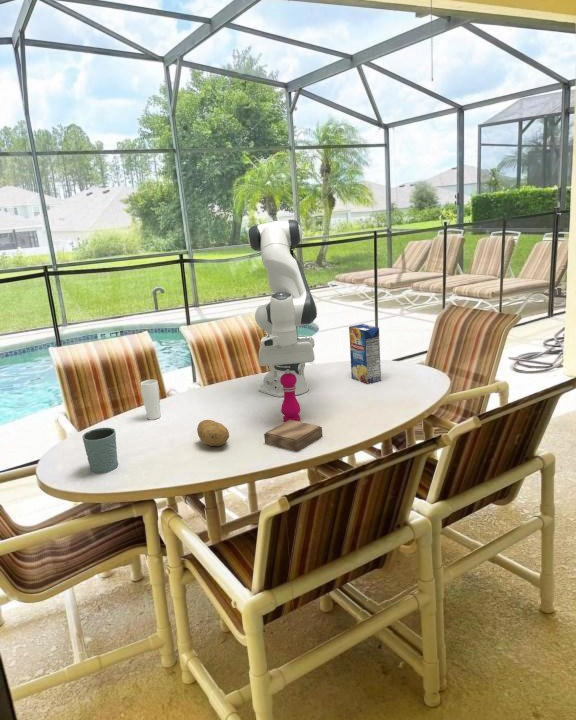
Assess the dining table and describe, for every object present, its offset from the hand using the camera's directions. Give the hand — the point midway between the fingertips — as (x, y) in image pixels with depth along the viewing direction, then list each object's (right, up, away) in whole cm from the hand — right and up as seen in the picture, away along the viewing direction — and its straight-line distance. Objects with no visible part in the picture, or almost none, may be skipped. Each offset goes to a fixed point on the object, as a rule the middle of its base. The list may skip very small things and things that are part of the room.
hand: (288, 375), depth 203 cm
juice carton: (+35, -3, +46) cm, 58 cm away
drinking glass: (-53, -18, +20) cm, 60 cm away
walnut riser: (+2, -22, -13) cm, 25 cm away
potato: (-25, -24, -11) cm, 36 cm away
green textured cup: (-59, -29, -22) cm, 70 cm away
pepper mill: (+1, -17, +5) cm, 18 cm away
